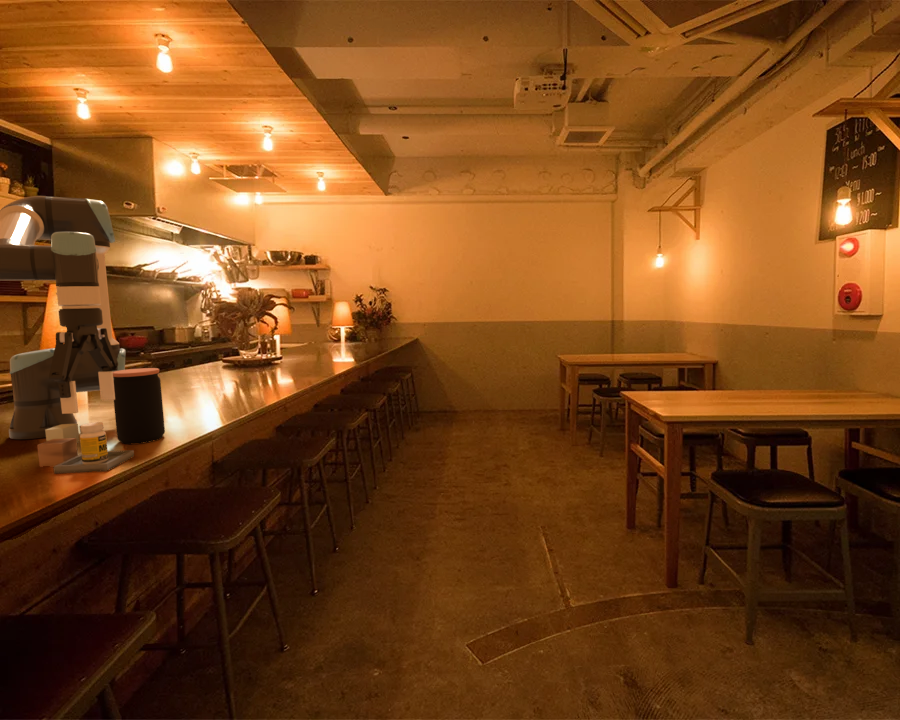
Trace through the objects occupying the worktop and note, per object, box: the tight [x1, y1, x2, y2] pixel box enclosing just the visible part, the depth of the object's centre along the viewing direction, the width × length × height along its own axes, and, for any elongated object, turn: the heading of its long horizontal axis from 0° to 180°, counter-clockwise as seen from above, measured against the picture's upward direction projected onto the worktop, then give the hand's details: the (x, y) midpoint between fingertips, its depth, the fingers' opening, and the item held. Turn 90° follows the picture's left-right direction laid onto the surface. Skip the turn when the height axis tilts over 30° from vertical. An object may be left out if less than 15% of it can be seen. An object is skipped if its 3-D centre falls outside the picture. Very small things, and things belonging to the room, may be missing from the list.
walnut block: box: [36, 438, 79, 468], centre depth 116 cm, size 5×5×5 cm
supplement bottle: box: [79, 421, 108, 464], centre depth 114 cm, size 5×5×8 cm
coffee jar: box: [113, 367, 166, 445], centre depth 135 cm, size 11×11×18 cm
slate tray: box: [53, 449, 135, 475], centre depth 114 cm, size 11×11×2 cm
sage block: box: [45, 423, 80, 443], centre depth 132 cm, size 6×4×5 cm, turn 5°
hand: (90, 406), depth 113 cm, fingers open, 13 cm apart
